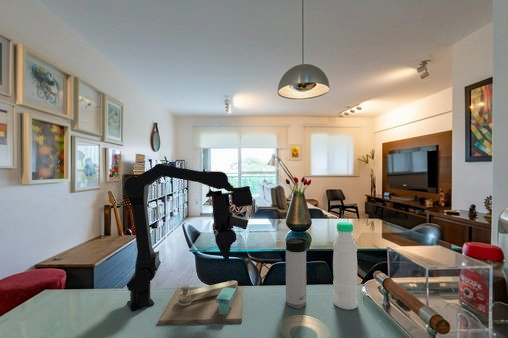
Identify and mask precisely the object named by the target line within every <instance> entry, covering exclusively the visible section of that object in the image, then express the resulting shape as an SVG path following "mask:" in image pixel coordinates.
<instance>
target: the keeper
mask: <svg viewBox="0 0 508 338" xmlns="http://www.w3.org/2000/svg"><path fill="white" fill-rule="evenodd" d="M235 294H236V288H226V287H224V288H223V289H222V291H221V292H220V293H219V295H218V296H217V298H216V303H219V314H223V315H227V314H228V312H229V310H230V303H231V301H232V299H233V297H234V296H235ZM192 302H193V301H191V302H189V303H185V304H182V303H179V301H178V304H179V305H182V306H185V305H189V304H191V303H192Z"/></svg>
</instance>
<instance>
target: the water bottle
mask: <svg viewBox="0 0 508 338" xmlns="http://www.w3.org/2000/svg"><path fill="white" fill-rule="evenodd" d="M336 230H337V235H336V238H335V240H334V241H333V245H332V248H333V255H332V270H333V271H332V273H333V282H332V286H333V294H332V296H333V297H332V300H333V303H334V305H335V306H336V307H338V308H340V309H342V310H347V311H348V310H349V311H350V310H354V309H356V308H357V307H358V304H359V303H358V301H359V299H358V282H357V281H358V257H357V256H358V255H357V252H358V246H357V244H356V242H355V239H354V238H353V236H352V234H353V230H354V225H353V224H352V223H351V222H343V221H342V222H341V221H340V222H337V223H336Z"/></svg>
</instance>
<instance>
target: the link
mask: <svg viewBox="0 0 508 338" xmlns="http://www.w3.org/2000/svg"><path fill="white" fill-rule="evenodd" d="M201 287H202V286H201ZM224 287H226V288H236V290H237V287H238V281H237V280H229V281H226V282H225V281H224V282H220V283H216V284H215V283H214V284H211V285H208V286H207V285H206V286H203V287H202V288H198V289H193V290H189V291H188V289H189V288H190V285H189V284H185V285H181V287H180V288H181V289H182V290H183V291H182V292H180V293H179V303H182V304H185V303H189V302H191V301H194V300H198V299H202V298H206V297H210V296H214V295H218V294H219V293H220V292H221V291H222V289H223V288H224Z"/></svg>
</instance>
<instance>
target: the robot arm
mask: <svg viewBox="0 0 508 338" xmlns="http://www.w3.org/2000/svg"><path fill="white" fill-rule="evenodd" d="M162 177H164V178H165V177H166V178H172V179H177V180H184V181H189V182H195V183H200V184H202V185H204V186H207V187H210V188H209V190H208V192H207V193H206V194H205V198H211V205H212V216H213V217H212V218H213V223H212V232H213V234H214V235H213V236H214V241H215V244H216V246H217V248H218V250H219V252H220V254H221V255H222V257H223V260H224V262H229V260H230V253H231V247H232V245H233V244H234V243H236V240H238V239H237V233H236V231H235V230H234V227H235V228H240V229H243V230H247V228H248V224H249V219H248V218H247V217H245V216H244V214H243V213H240V212H237V213H236V214H233V212H232V211H231V206H234V208H243V207H251V206H253V203H254V202H253V200H254V199H253V195H252V191H251V187H250V185H244V186H238V187H234V185H232V184H231V183H230V182H229V178H228V177H229V176H228V175H227V174H226V173H225V172H223V171H220V170H219V171H217V170H216V171H214V170H213V171H211V170H210V171H205V170H203V171H201V170H195V169H189V168H183V167H177V166H172V165H166V164H165V163H156V164H155V165H154V166H152V167H151V168H149V169H148V170H146V171H144V172H142V173H141V174H139V175H138V176H135V175H134V176H131V177H128V178H127V179H126V180H125V182H124V184H123V188H124V193H125V195H126V199H127V200H128V202H129V204H130V207H131V209H132V217H133V226H134V234H135V236H134V237H135V242H136V251H137V253H136V254H137V255H136V260H135V264H134V265H135V266H134V273H133V274H132V276H131V277H130V279H129V280H128V281H127V283H126V288H127V290H128V292H130V293H129V297H130V298H129V299H130V300H127V302H126V304H127V306H128V308H129V310H130V312H136V311H139V310H141V309H145V308H148V307H151V306H154V305H155V302H154V301H153V299H152V298H151V281H153V279H154V278H155V276H156V274H157V272H158V269H159V267H160V265H161V259H160V251H159V250H158V251H155V250H154V248H153V244H152V237H151V236H152V235H151V229H150V220H149V210H148V199H149V195H150V193H149V191H150V190H149V189H150V186H151V185H152V184H154V183H155V182H157V181H158V180H159V179H161V178H162ZM211 188H213V189H216V190H212V189H211ZM222 190H225V191H227V192H223V191H222ZM230 202H231V203H230ZM230 205H231V206H230Z"/></svg>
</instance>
